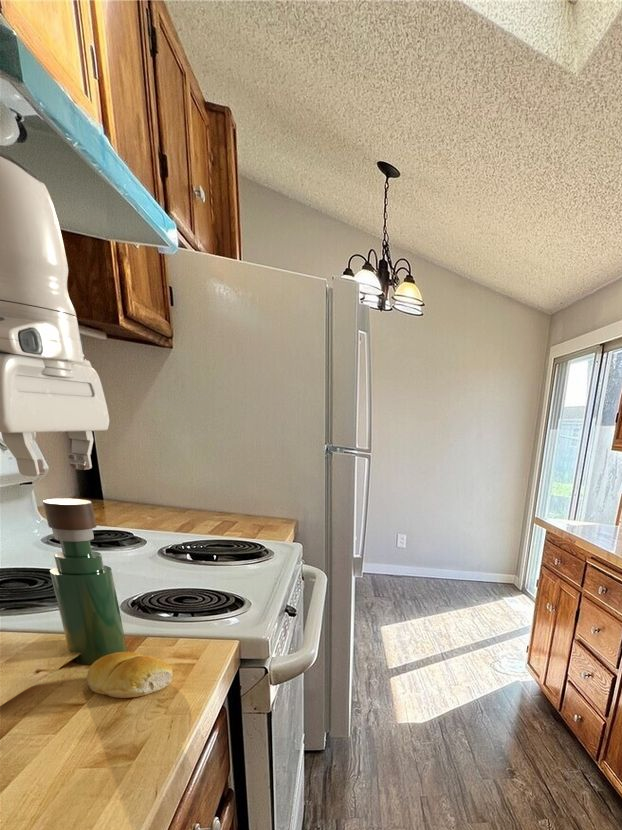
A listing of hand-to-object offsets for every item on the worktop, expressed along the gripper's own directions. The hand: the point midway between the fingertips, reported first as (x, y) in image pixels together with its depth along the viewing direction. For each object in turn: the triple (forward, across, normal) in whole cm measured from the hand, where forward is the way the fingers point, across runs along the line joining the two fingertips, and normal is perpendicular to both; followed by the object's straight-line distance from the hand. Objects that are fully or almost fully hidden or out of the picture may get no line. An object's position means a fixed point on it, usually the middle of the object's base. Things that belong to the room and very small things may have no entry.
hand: (58, 472), depth 67 cm
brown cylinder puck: (+6, 0, 0) cm, 6 cm away
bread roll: (+24, +9, +9) cm, 27 cm away
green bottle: (+24, 0, 0) cm, 24 cm away
